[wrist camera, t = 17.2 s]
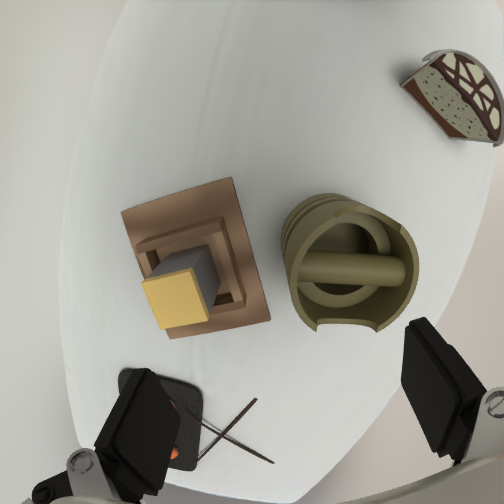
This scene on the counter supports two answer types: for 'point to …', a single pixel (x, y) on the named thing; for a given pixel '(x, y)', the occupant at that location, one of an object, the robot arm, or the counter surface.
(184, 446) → the sushi plate
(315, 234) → the piston
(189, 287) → the gold and gray block
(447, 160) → the counter surface
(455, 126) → the food container
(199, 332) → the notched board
